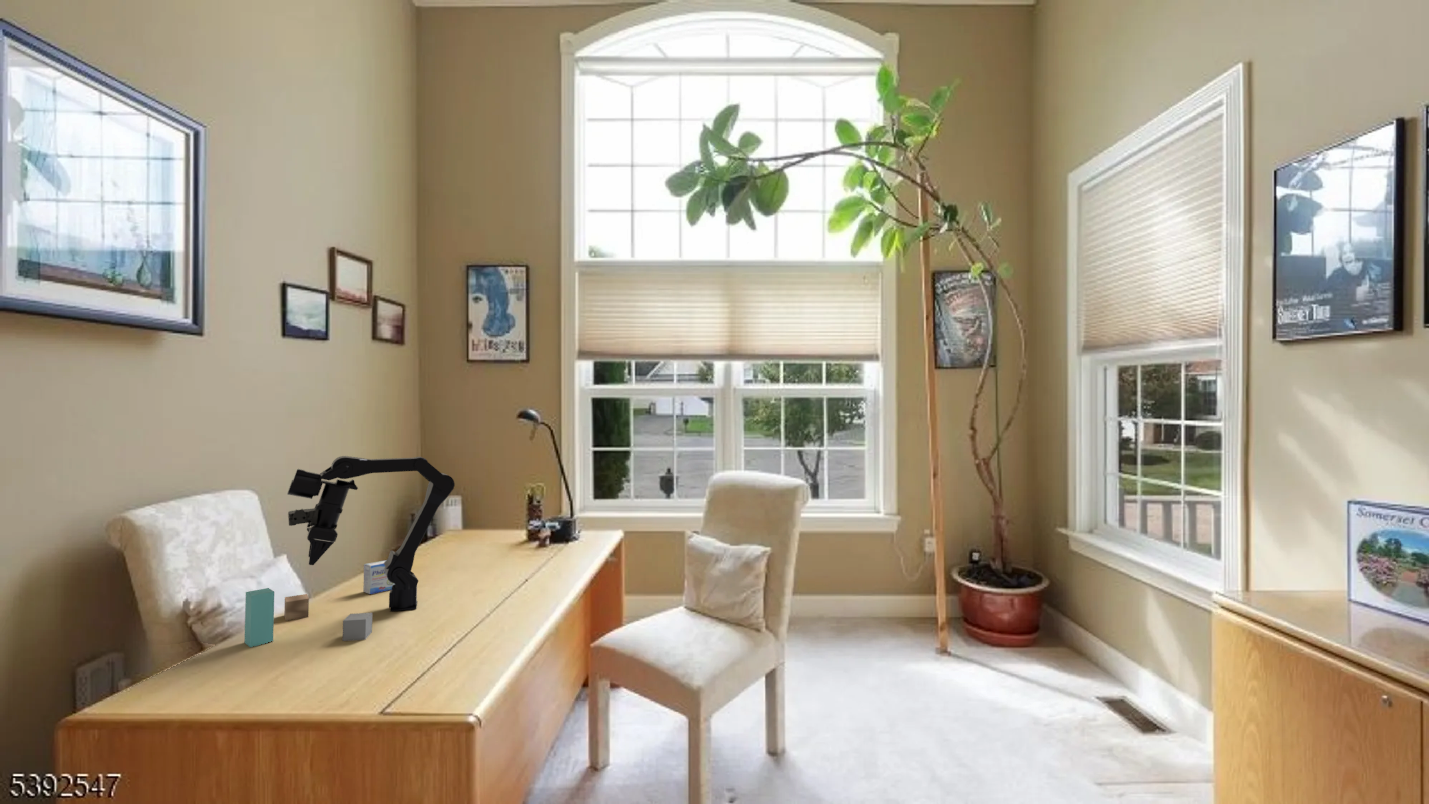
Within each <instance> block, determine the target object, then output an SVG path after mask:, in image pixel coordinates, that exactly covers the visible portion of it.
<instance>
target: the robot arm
mask: <svg viewBox="0 0 1429 804" xmlns="http://www.w3.org/2000/svg"><path fill="white" fill-rule="evenodd" d="M400 472H404V473H405V472H418V473H419V474H420V475H421V476H422V477H423V478H424V479H425V480H427V481H428V485H427V487H426V488H427V489H426V492H425V496H424V501H423V503H422V505H421V507H420V509H419V511H418V513H417V515H416V517H415V519H414V520H413V522H412V524H411V526H410V529H409V530H408V532H407V534H406V536H405V538H404V540H403V542H402V543H401V546H400V547H399V548H398V549H397V550H396V551H394V550H390V552H389V554H388V557H387V559H386V561H385V560H384V561H385V562H384V565H385V568H384V571H385V574H386V576H387V578H388V580H389V581H390V582H392V583H395V585H393V586H392V590H389V595H388V607H389V609H390V610H389V611H390V612H399V611H410V610H416V609H417V608H418V607H417V606H418V599H417V598H418V583H419V579H418V577H417V576H416V575H415V573H414V572H413V571H412V569H413V565H414V560H415V555H416V552H417V551H418V548H419V546H420V544H421V542H422V540H423V538H424V537H425V534H426V532H427V530H428V528H429V527H430V524H431V523H432V521H433V518H435V514H436V513H437V511H438V509H439V507H440V506H441V505H443V503H444V502H445V501H446V500H447V499H448V498H449V496H450V495H451V493H452V492H453V491H454V487H455V485H456V483H455V480H454V479H453V477H451V475H449V474H446V473H444V472H440V471H439V470H438V469H437V468H436V467H434V466H433V465H432V464H431V463H430V462H429V461H428V460H427V459H426V458H425V457H422V456H415V457H396V458H395V457H394V458H365V457H364V458H363V457H358V456H357V457H356V456H348V455H342V456H341V455H340V456H338V457H336V458H335V459H334V460H333V461H332V462H331V466H329V467H328V468H326V469H325V470H322V472H320V473H315V472H311V471H307V470H305V469H301V468H300V469H299V468H298V469H297V470H296V471H295V473H294V476H293V479H292V480H291V482H290V484H289V488H288V491H287V495H289V496H295V497H298V498H299V497H300V498H305V499H311V500H312V499H313V497H318V496H319V494H320V492H321V489H322V486H323V484H324V487H323V489H322V492H321V495H320V498H319V500H318V502H317V503H315V506H314V507H313V508H301V509H295V510H289V511H288V513H287V517H288V526H291V527H292V526H296V525H300V524H301V525H302V524H307V525H306V531H307V536H306V539H307V540H308V542H309V549H308V558H309V561H308V565H309V566H314V565H315V564H317V562H318V561H319V560H320V559H321V557H322V556H324V554H325V553H326V552H327V551H328V550H329V549H330V548H331V547H332V545H334V543H335V542H336V541H337V539H338V535H339V534H338V531H337V530H336V529H337V527H338V521H339V518H340V515H341V514H342V513H343V510H344V509H343V508H344V504H345V501H346V499H347V496H348V493H349V491H350V490H353V491H357V490H358V489H359V488H358V486H357V485H356V483H355V480H354V478H357V477H360V476H365V475H369V474H381V473H400ZM352 478H353V479H352ZM335 479H336V481H332V480H335ZM347 479H351V480H349V481H346V480H347Z"/></svg>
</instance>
